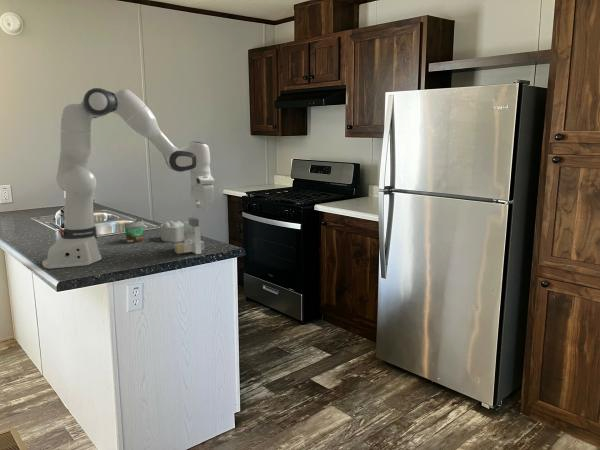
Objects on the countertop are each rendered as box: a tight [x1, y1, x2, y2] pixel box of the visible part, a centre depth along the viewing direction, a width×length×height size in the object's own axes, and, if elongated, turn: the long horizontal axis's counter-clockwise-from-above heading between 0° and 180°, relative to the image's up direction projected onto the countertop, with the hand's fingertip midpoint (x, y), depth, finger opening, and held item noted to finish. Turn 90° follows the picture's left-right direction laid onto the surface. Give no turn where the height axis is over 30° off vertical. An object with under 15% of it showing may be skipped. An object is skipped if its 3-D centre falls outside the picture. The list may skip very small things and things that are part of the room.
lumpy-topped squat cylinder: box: [160, 220, 185, 243], centre depth 251 cm, size 10×13×9 cm
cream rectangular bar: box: [174, 240, 206, 254], centre depth 227 cm, size 12×4×4 cm, turn 121°
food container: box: [123, 218, 145, 244], centre depth 246 cm, size 12×6×10 cm, turn 168°
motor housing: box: [183, 216, 202, 255], centre depth 227 cm, size 2×15×15 cm, turn 31°
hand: (201, 209), depth 227 cm, fingers open, 8 cm apart
